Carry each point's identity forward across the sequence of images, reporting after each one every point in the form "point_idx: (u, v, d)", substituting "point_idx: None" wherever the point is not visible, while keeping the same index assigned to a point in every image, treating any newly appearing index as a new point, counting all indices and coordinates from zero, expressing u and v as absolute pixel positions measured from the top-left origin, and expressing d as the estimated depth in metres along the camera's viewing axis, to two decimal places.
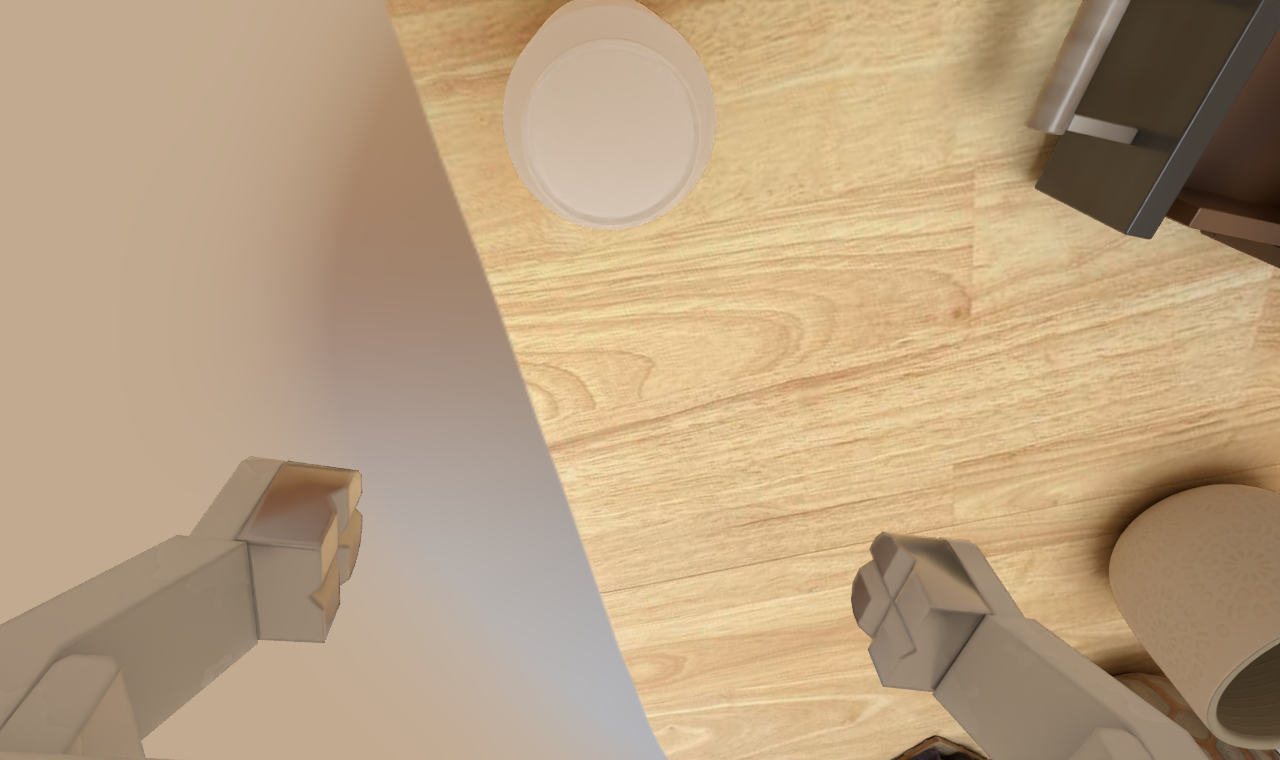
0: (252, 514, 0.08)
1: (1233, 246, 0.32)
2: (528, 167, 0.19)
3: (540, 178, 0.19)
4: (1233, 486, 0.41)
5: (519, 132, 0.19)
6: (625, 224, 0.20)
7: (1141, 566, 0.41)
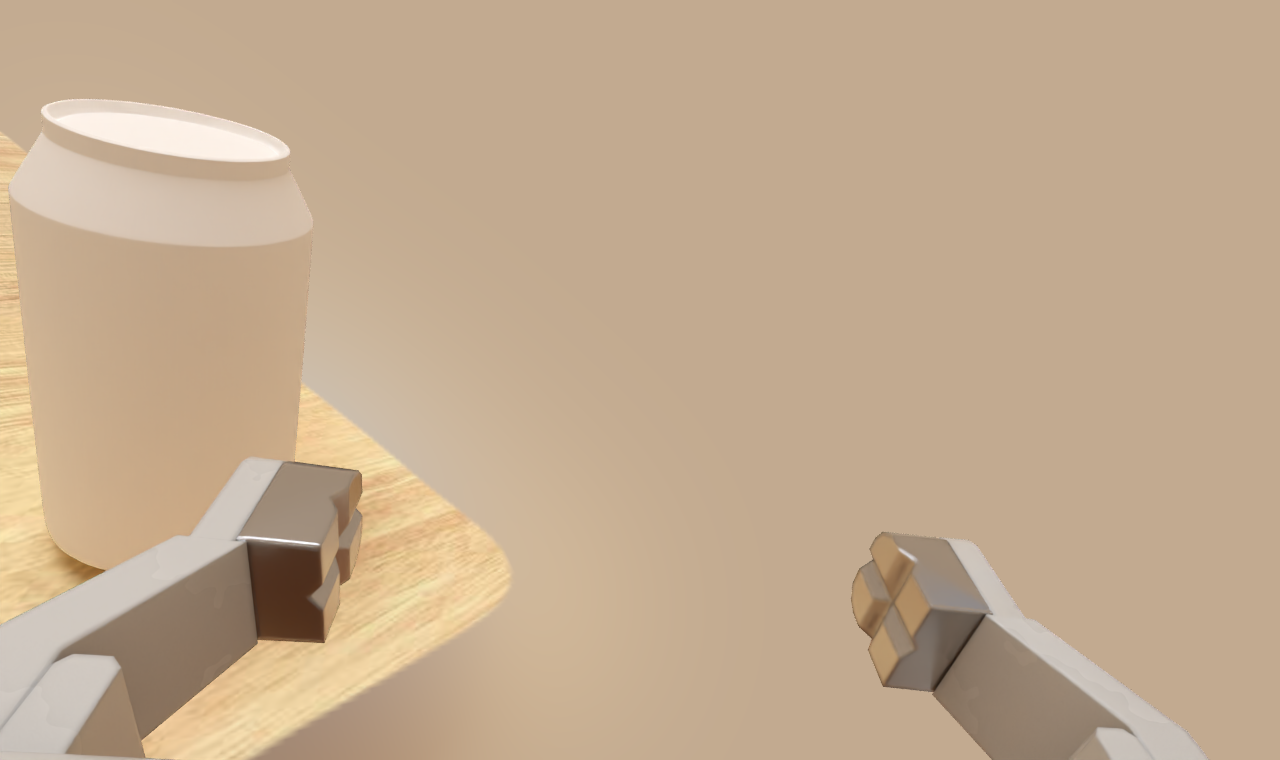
0: (252, 514, 0.08)
1: None
2: None
3: (256, 141, 0.19)
4: None
5: None
6: None
7: None
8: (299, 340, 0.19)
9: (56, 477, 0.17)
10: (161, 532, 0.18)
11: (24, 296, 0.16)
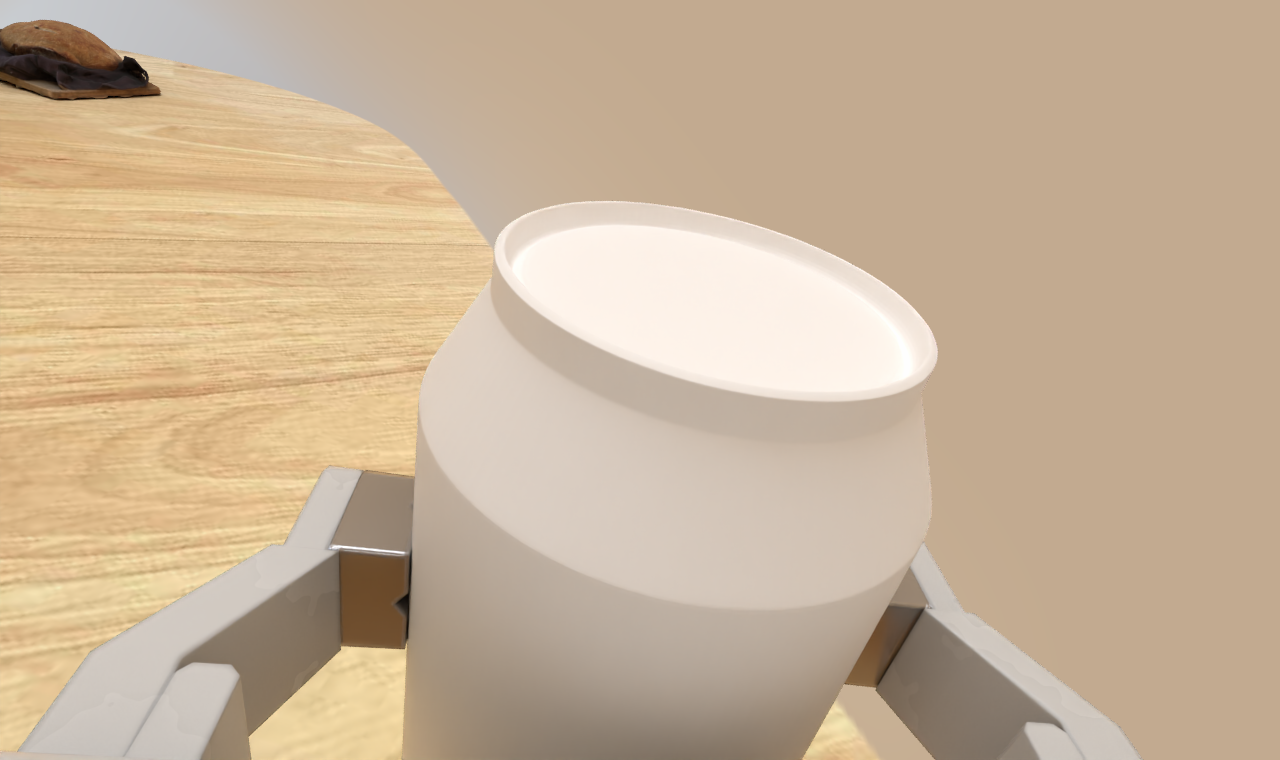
0: (340, 523, 0.09)
1: None
2: None
3: (820, 275, 0.09)
4: None
5: None
6: None
7: None
8: None
9: None
10: None
11: (417, 592, 0.08)
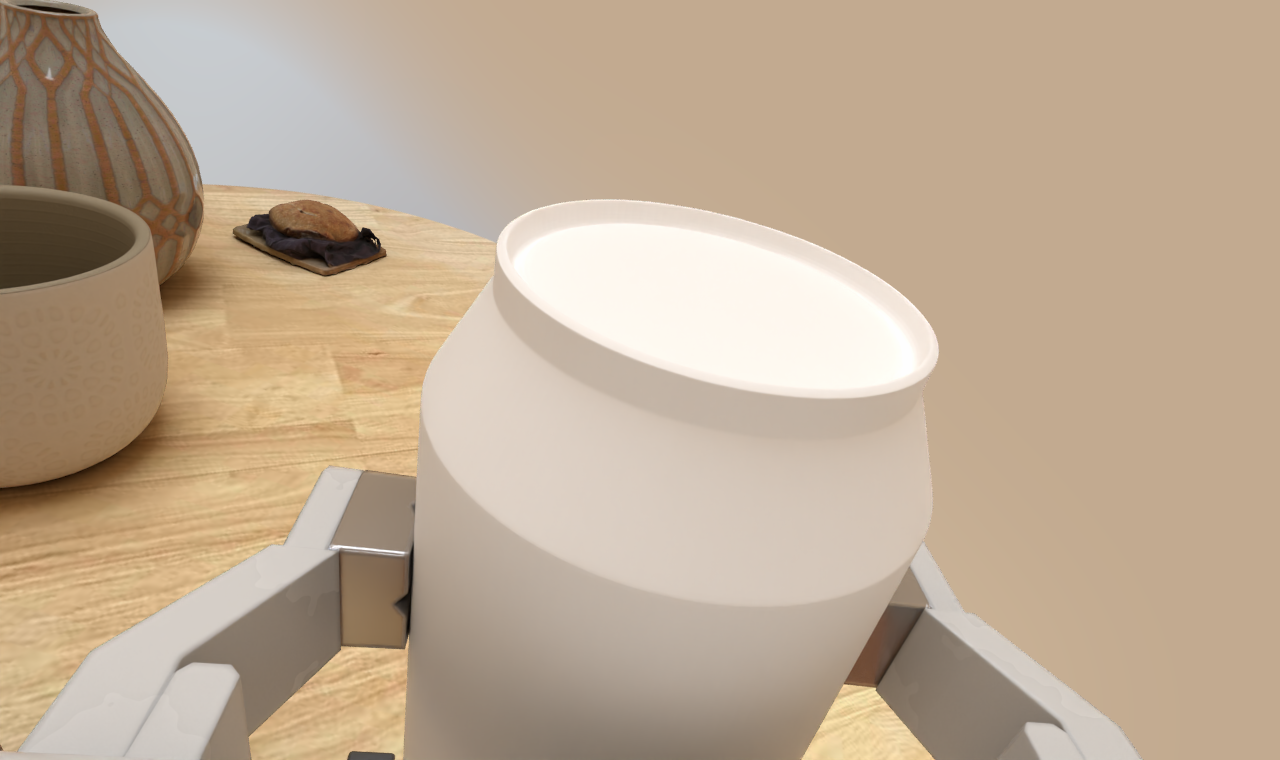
0: (340, 523, 0.09)
1: None
2: None
3: (821, 273, 0.09)
4: None
5: None
6: None
7: (151, 391, 0.34)
8: None
9: None
10: None
11: (419, 589, 0.08)
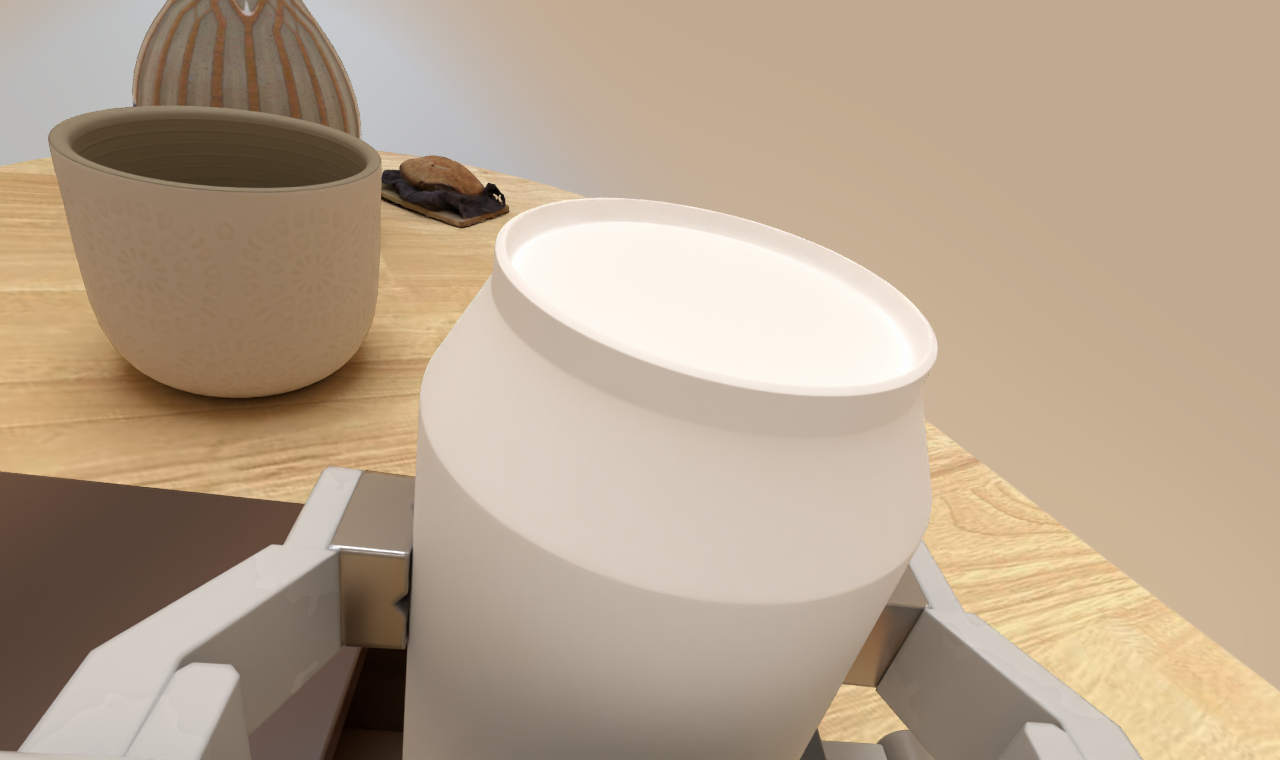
0: (340, 523, 0.09)
1: None
2: None
3: (820, 272, 0.09)
4: (230, 386, 0.30)
5: None
6: None
7: (372, 309, 0.34)
8: None
9: None
10: None
11: (418, 587, 0.08)
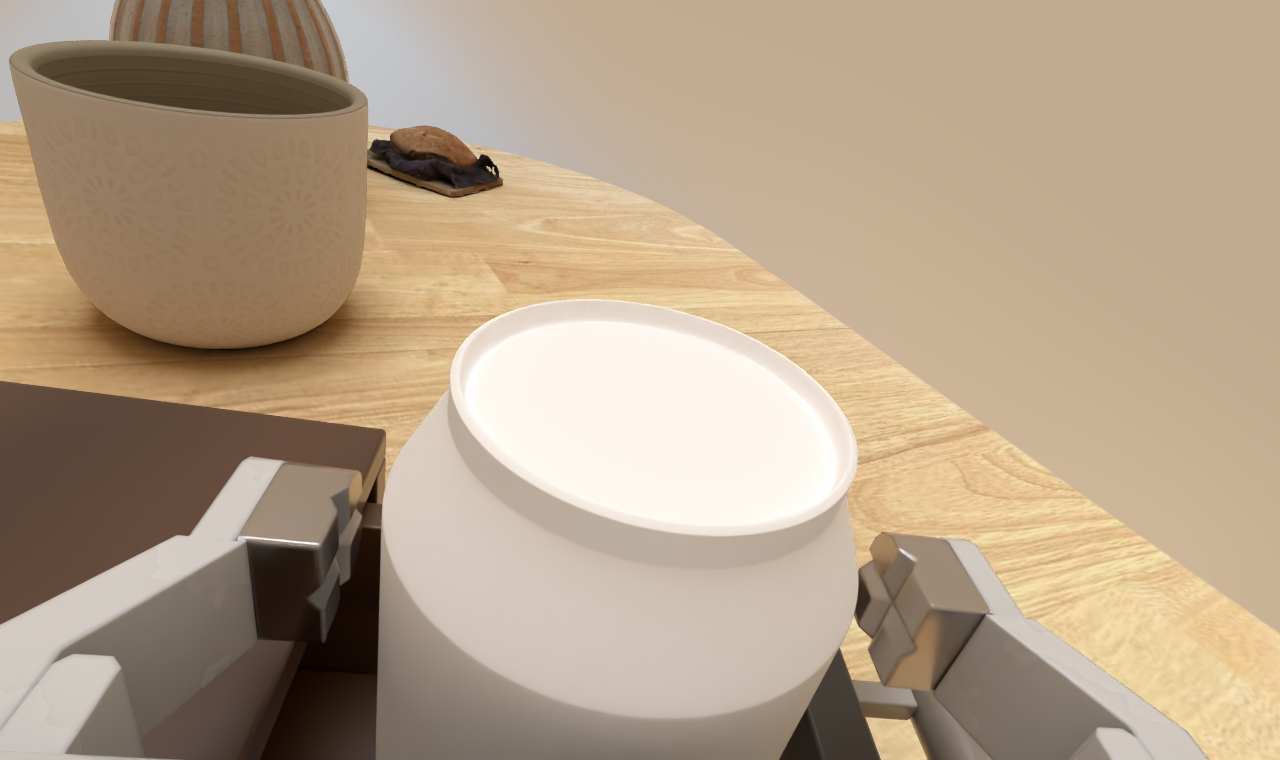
0: (252, 514, 0.08)
1: None
2: None
3: (766, 370, 0.10)
4: (206, 333, 0.29)
5: None
6: None
7: (357, 260, 0.33)
8: None
9: None
10: None
11: (381, 672, 0.09)
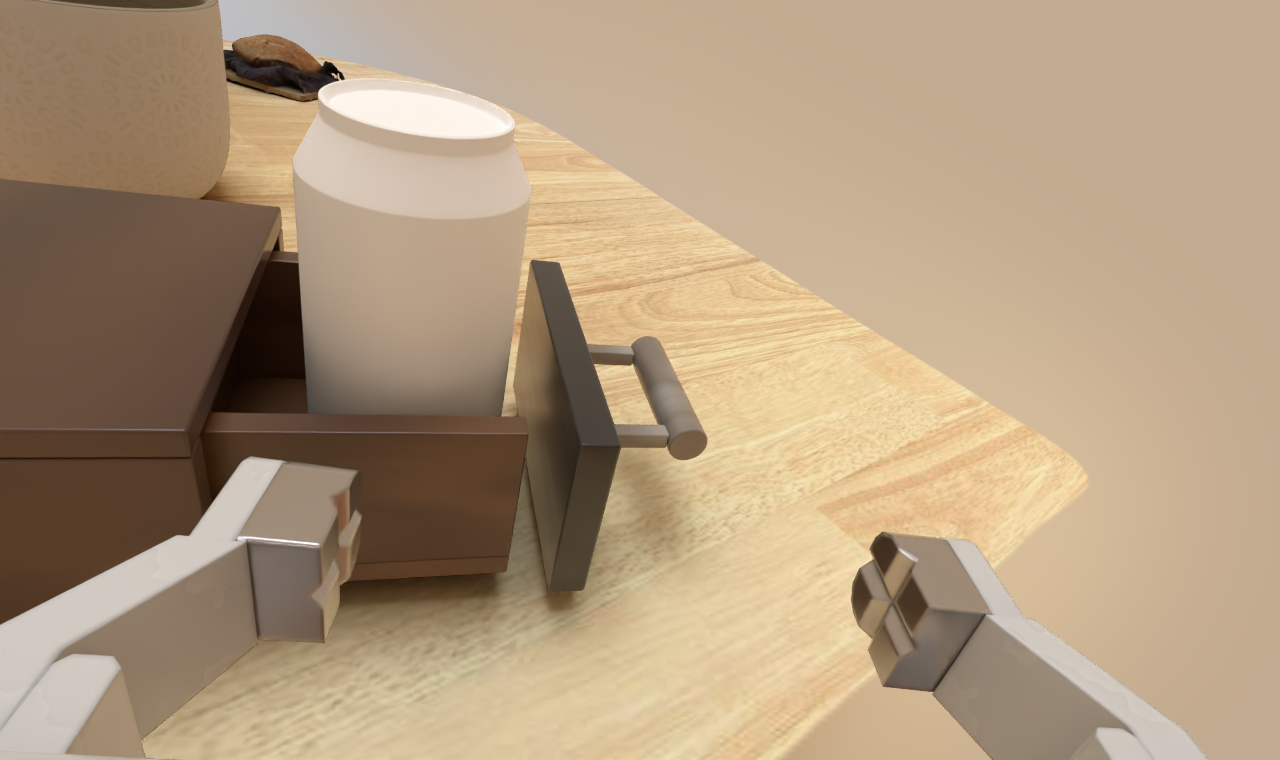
0: (252, 514, 0.08)
1: None
2: None
3: (485, 112, 0.20)
4: None
5: None
6: None
7: (226, 140, 0.39)
8: (513, 301, 0.21)
9: (321, 409, 0.20)
10: None
11: (302, 257, 0.18)
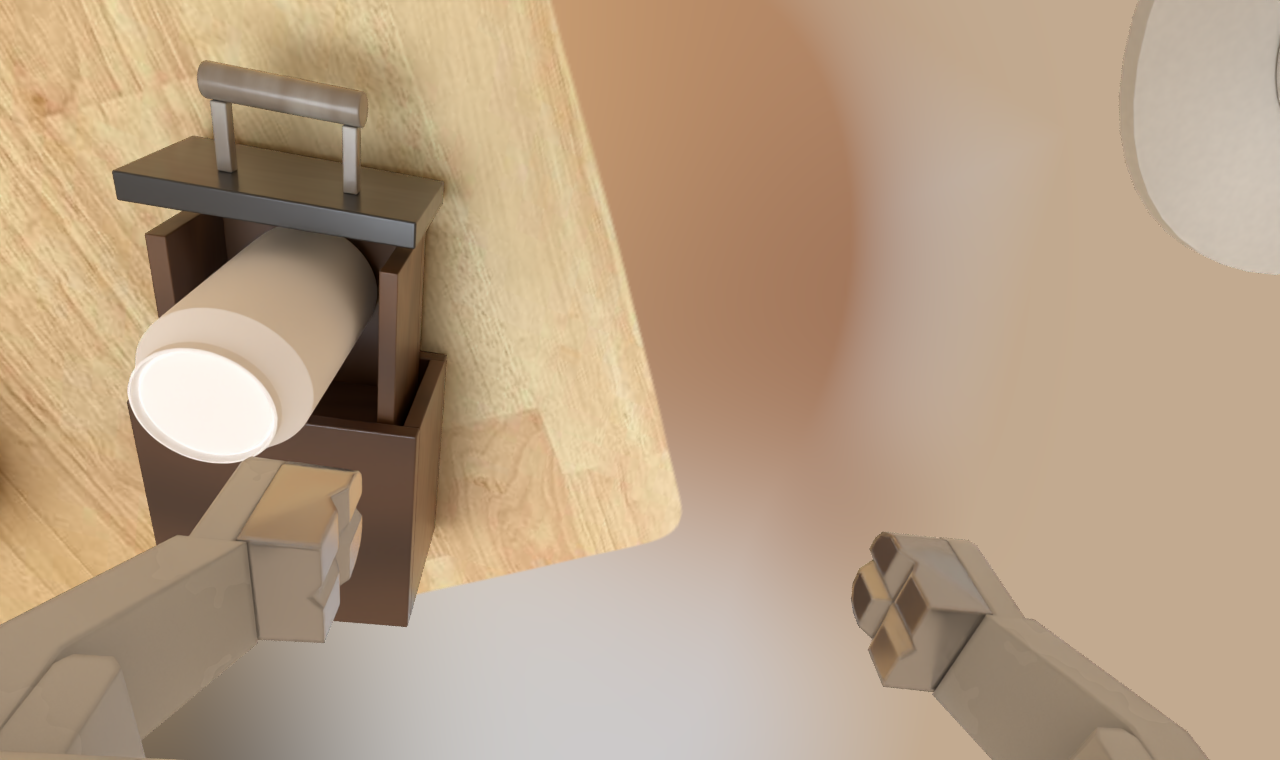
0: (252, 514, 0.08)
1: None
2: (160, 353, 0.23)
3: (157, 356, 0.23)
4: None
5: (191, 338, 0.23)
6: (138, 419, 0.24)
7: None
8: (289, 286, 0.27)
9: None
10: (370, 311, 0.33)
11: None
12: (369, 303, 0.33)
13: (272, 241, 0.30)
